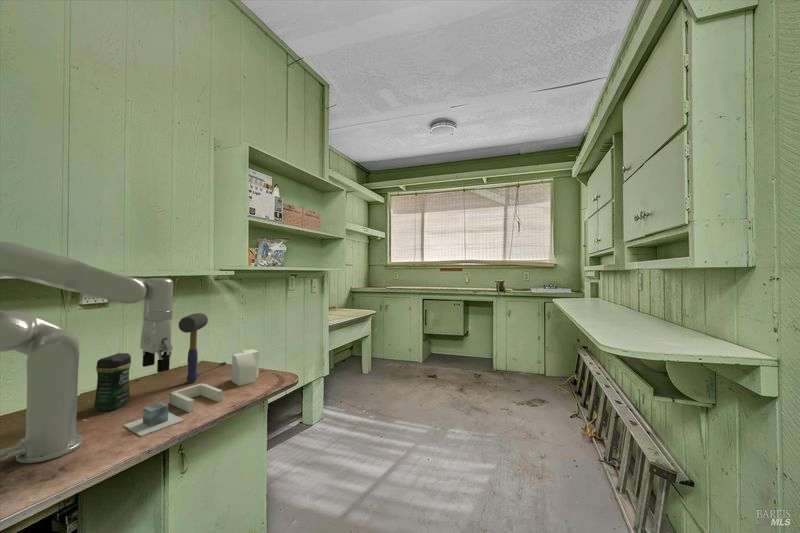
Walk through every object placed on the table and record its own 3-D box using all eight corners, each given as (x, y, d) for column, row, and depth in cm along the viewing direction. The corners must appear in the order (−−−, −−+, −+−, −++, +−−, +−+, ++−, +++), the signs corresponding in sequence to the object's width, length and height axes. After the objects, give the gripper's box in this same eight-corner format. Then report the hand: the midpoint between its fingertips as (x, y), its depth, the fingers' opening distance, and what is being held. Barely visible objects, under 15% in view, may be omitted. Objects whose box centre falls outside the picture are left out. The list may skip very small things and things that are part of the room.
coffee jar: (113, 412, 111) (115, 358, 111) (89, 412, 110) (90, 358, 111) (134, 400, 121) (136, 351, 121) (112, 400, 120) (113, 351, 120)
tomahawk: (199, 380, 146) (199, 378, 146) (187, 377, 148) (188, 375, 148) (234, 366, 166) (234, 363, 166) (223, 363, 168) (223, 361, 168)
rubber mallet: (193, 387, 135) (196, 316, 135) (174, 387, 134) (177, 316, 134) (207, 377, 148) (209, 312, 148) (190, 377, 147) (192, 311, 147)
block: (150, 427, 101) (150, 411, 101) (142, 422, 104) (143, 407, 104) (167, 420, 106) (168, 405, 106) (160, 416, 108) (160, 402, 108)
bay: (188, 412, 113) (189, 401, 113) (169, 403, 119) (169, 392, 119) (222, 400, 123) (222, 390, 123) (202, 392, 130) (202, 383, 130)
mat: (141, 436, 96) (141, 435, 96) (123, 426, 102) (123, 424, 102) (184, 420, 107) (184, 419, 107) (165, 411, 113) (165, 410, 113)
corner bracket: (251, 373, 154) (252, 348, 154) (263, 379, 146) (264, 353, 146) (228, 379, 146) (229, 353, 146) (239, 386, 138) (239, 358, 138)
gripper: (131, 314, 106) (129, 366, 105) (157, 320, 97) (155, 376, 97) (158, 312, 112) (155, 361, 112) (184, 317, 104) (182, 370, 103)
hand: (155, 368), depth 104 cm, fingers open, 9 cm apart
